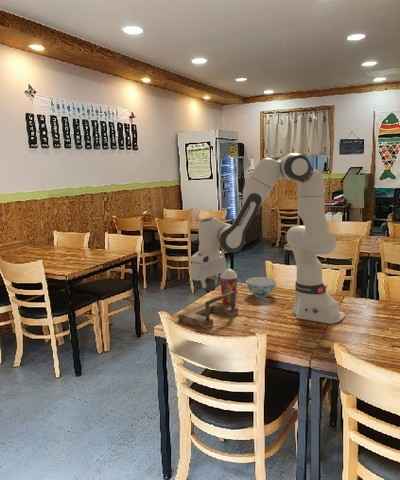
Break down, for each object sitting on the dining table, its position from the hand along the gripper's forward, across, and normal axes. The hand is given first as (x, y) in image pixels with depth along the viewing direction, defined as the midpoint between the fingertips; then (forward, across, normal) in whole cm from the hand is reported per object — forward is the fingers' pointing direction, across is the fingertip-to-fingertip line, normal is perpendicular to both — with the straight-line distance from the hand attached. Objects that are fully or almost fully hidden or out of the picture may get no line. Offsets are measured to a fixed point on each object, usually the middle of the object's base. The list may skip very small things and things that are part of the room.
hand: (209, 285), depth 178 cm
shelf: (+15, 0, -1) cm, 15 cm away
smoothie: (+15, -20, -5) cm, 26 cm away
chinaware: (+15, -39, +1) cm, 42 cm away
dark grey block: (+2, 0, 0) cm, 2 cm away
